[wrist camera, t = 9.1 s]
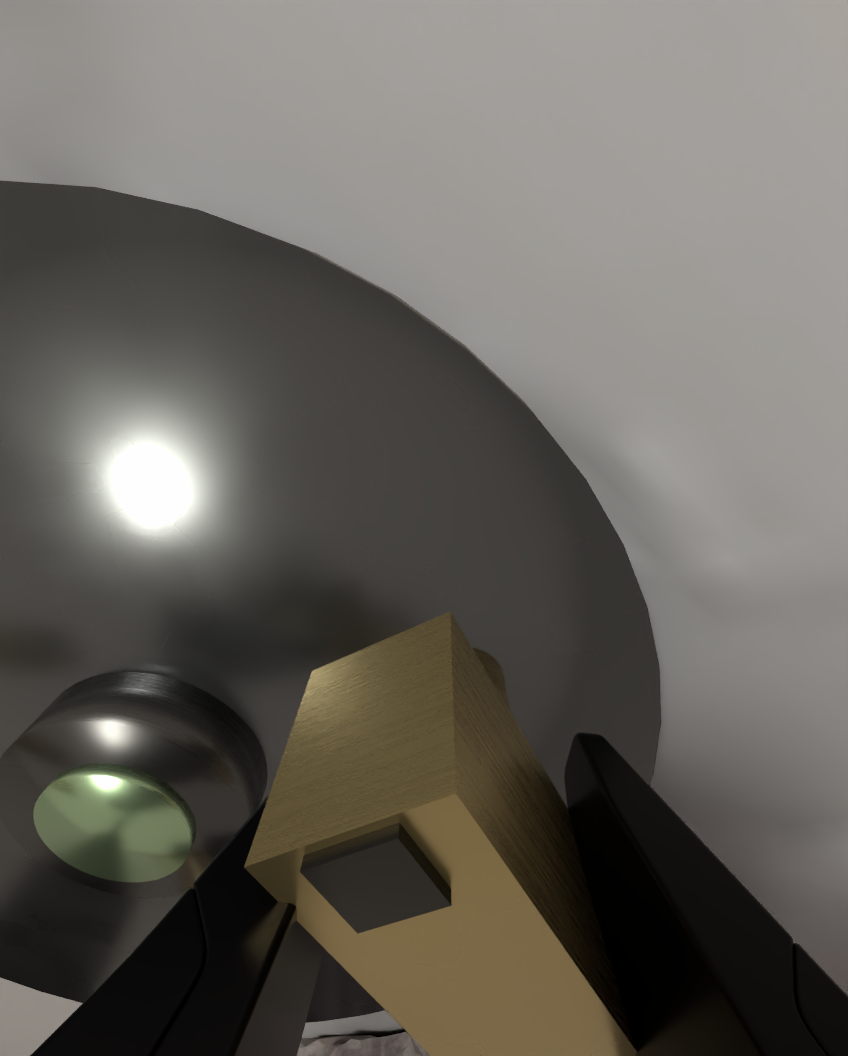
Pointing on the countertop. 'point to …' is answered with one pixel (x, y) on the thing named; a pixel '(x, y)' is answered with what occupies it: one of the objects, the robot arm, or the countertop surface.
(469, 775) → the knob
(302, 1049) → the crystal cluster
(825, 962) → the countertop surface
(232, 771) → the levelling plate
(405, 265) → the countertop surface
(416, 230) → the countertop surface
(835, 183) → the countertop surface
